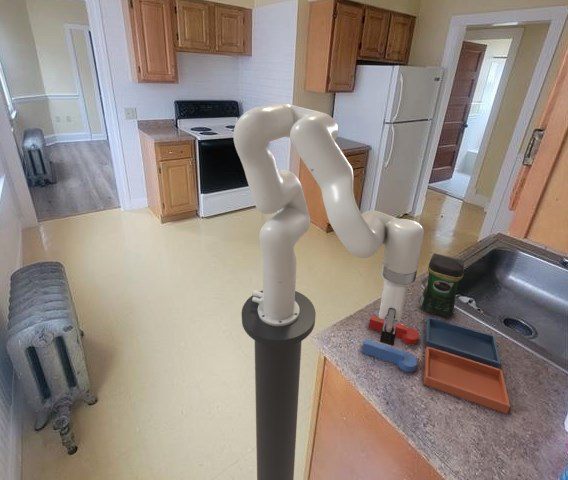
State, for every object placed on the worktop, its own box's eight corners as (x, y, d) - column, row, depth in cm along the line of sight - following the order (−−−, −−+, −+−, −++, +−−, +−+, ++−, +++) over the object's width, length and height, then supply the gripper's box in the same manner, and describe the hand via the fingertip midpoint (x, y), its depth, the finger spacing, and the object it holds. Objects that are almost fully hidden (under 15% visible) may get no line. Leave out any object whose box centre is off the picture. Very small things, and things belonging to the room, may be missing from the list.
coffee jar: (452, 305, 103) (466, 256, 96) (452, 321, 97) (467, 269, 89) (420, 296, 107) (432, 248, 100) (418, 310, 101) (429, 260, 93)
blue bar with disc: (360, 356, 84) (362, 346, 83) (364, 344, 88) (365, 334, 87) (415, 375, 79) (417, 365, 78) (416, 361, 83) (418, 351, 82)
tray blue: (425, 347, 87) (426, 341, 86) (426, 323, 96) (427, 316, 95) (498, 371, 81) (501, 363, 80) (492, 342, 90) (494, 335, 89)
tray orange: (423, 384, 77) (425, 377, 76) (424, 352, 86) (426, 345, 85) (506, 414, 71) (510, 406, 70) (499, 376, 79) (502, 369, 78)
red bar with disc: (367, 331, 92) (369, 322, 91) (370, 321, 96) (371, 312, 95) (417, 347, 87) (419, 337, 86) (417, 335, 91) (420, 326, 90)
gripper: (386, 250, 82) (379, 304, 89) (376, 289, 68) (368, 349, 74) (417, 256, 80) (407, 311, 86) (413, 298, 65) (402, 360, 72)
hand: (389, 329), depth 80 cm, fingers open, 9 cm apart
